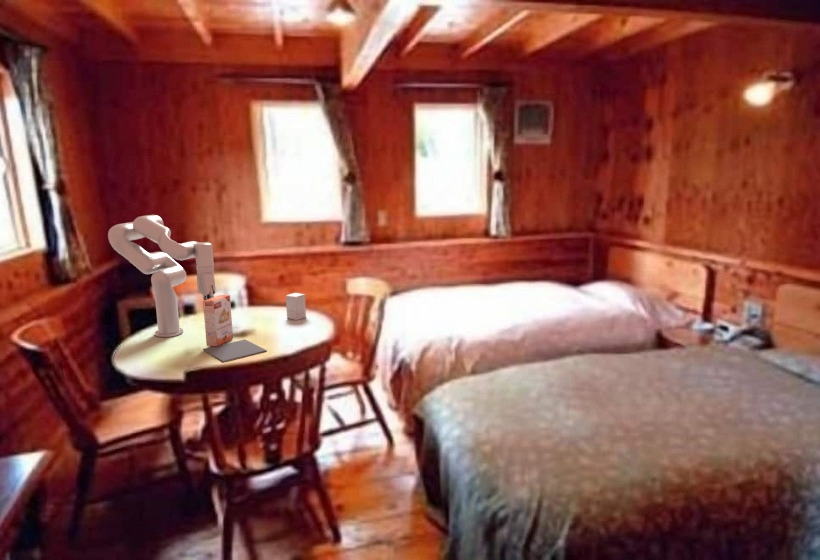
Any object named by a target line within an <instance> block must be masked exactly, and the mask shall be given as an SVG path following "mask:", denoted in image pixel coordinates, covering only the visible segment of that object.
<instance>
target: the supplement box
mask: <svg viewBox="0 0 820 560" xmlns="http://www.w3.org/2000/svg"><path fill="white" fill-rule="evenodd" d="M285 304H286V307H285V309H286V319H288V320H289V319H290V320H295V321H298V320H301V319H304V318H307V309H306V308H307V307H306V294H305V293H300V292H294V293H290V294H286V295H285Z"/></svg>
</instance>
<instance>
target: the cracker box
mask: <svg viewBox="0 0 820 560" xmlns="http://www.w3.org/2000/svg"><path fill="white" fill-rule="evenodd" d="M231 303H232V302H231V295H230V294H219V295H214V297H213V298H210V299H207V300H204V299H203V301H202V304H203V305H202V306H203V318H204V330H205V340H206V341H205V342H206V347H214V346H219V345H223V344H226V343H227V342H228V341H230V340H233V339H234V336H233V335H234V333H233V321H232V318H233V317H232V307H231V305H232V304H231Z"/></svg>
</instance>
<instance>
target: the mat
mask: <svg viewBox="0 0 820 560" xmlns="http://www.w3.org/2000/svg"><path fill="white" fill-rule="evenodd" d="M203 350H204V352H205V353H207V354H208V353H209V354H208V355H210V354H211V356H212V357H213V356H214V358H215V359H217V360H218V361H220V362H221V363H226V362H229V361H235V360H237V359H242V358H246V357H247V358H248V357H250V356H254V355H257V354H262V353H265V352H267V351H268V350H267V349H265V348H263V347H261V346H259V345H257V344H255V343H253V342H251V341H249V340H247V339H241V340H237V341H232V342H228V343H227V342H226V343H223V344H221V345H219V346H208V347H206V348H203V349H202V351H203Z"/></svg>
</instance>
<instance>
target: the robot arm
mask: <svg viewBox="0 0 820 560" xmlns="http://www.w3.org/2000/svg"><path fill="white" fill-rule="evenodd" d="M171 234H172V231H171V229H170V228H168V227H167V226H165V225H164V221H163V219H162V218H161V217H160V216H159V215H156V214H150V215H149V214H147V215H142V216H137V217H136V218H135V219H134V220H133V221H130V222H124V223H118V224H115V225H113V226H111V228H109V230H108V233H107V238H108V241H109V244H110V246H111V247H112V248H113V250H114V251H116V252H117V254H119V255H120V256H122V257H123V258H125V260H127V261H128V262H129V263H130V264H132V265H133V266H134V267H136V269H138V270H139V271H140V272H141V273H142V274H145V275H151V274H152V275H151V278H150V281H151V286H152V289H153V294H154V299H155V309H156V322H157V323H156V324H157V330H156V331H154V335H155V336H156V337H159V338H170V337H176V336H180V335H181V334H183V333H184V329H183V328H182V327H180V320H179V319H180V318H179V305H178V304H179V303H178V296H177V293H176V291H175V289H174V287H177V286H180V285H182V284H184V282H186V279H187V271H185V269H184V267H182V266H181V265H180V264H179V263H178V262H177V261H185V260H188V259H193V258H195V265H196V274H197V275H196V284H197V285H196V288H197V289H196V290H197V293H199V294H201V295H202V297H203V298H202V299H203V301H204V300H207V299H210V298H213V297H215V294H216V291H217V290H216V288H217V287H216V281H215V276H214V273H215V264H214V263H215V262H214V251H213V249H214V248H213V244H212V243H210V242H208V241H207V242H199V241H194V240H192V241H186V242H182V243H178V242H177V241H175V240H173V239H171ZM144 238H147V239H149V240H150V241H152V242H154V243H155V244H157V245H158V247H159V248H160V250H161V251H154V252H148V251H147V250H145V249H144V248H143V247H142V246H141V245H139V244H137V243H135V242H133V241H135V240H139V239H140V240H141V239H144ZM174 259H175V260H177V261H175V260H174Z"/></svg>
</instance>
